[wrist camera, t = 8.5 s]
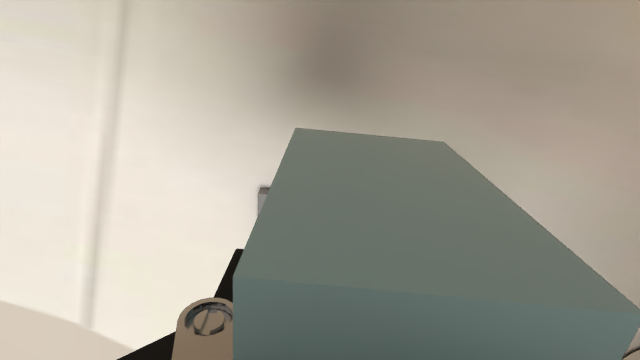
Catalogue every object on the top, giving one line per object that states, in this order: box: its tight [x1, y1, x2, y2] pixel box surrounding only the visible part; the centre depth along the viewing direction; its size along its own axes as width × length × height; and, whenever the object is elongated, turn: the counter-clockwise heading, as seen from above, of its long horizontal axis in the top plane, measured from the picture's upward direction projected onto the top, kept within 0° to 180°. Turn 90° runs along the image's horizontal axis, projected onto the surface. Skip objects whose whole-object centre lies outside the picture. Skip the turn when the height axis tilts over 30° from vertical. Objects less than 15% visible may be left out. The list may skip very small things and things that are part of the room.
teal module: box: [233, 128, 640, 360], centre depth 9 cm, size 5×8×8 cm, turn 175°
